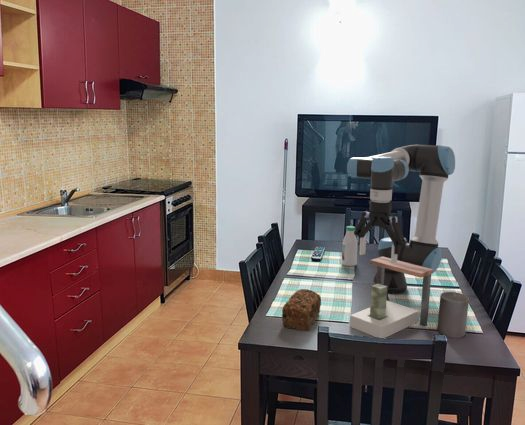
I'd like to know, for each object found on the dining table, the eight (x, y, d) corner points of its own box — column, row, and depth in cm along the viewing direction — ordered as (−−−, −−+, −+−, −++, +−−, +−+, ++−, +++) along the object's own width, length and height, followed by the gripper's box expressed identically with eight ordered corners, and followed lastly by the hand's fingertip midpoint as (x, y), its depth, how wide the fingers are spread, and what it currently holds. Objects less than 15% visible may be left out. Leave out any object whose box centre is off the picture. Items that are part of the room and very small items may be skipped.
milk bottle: (358, 263, 267) (360, 226, 263) (353, 267, 260) (354, 229, 257) (345, 261, 271) (346, 224, 267) (339, 265, 264) (340, 227, 261)
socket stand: (379, 307, 207) (382, 256, 203) (428, 324, 191) (433, 269, 187) (341, 323, 191) (343, 268, 187) (391, 343, 175) (395, 283, 171)
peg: (369, 327, 188) (371, 285, 185) (375, 324, 191) (378, 283, 188) (378, 330, 185) (380, 288, 182) (384, 327, 188) (387, 286, 185)
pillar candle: (432, 327, 189) (436, 288, 186) (458, 326, 190) (462, 288, 187) (443, 338, 180) (447, 298, 176) (470, 338, 180) (474, 298, 177)
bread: (296, 310, 204) (296, 286, 202) (322, 314, 200) (323, 289, 198) (280, 327, 187) (281, 301, 185) (308, 332, 183) (309, 306, 181)
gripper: (345, 197, 188) (343, 253, 192) (405, 207, 170) (402, 268, 174) (358, 194, 193) (356, 249, 197) (417, 204, 175) (414, 263, 179)
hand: (377, 258), depth 186 cm, fingers open, 13 cm apart
